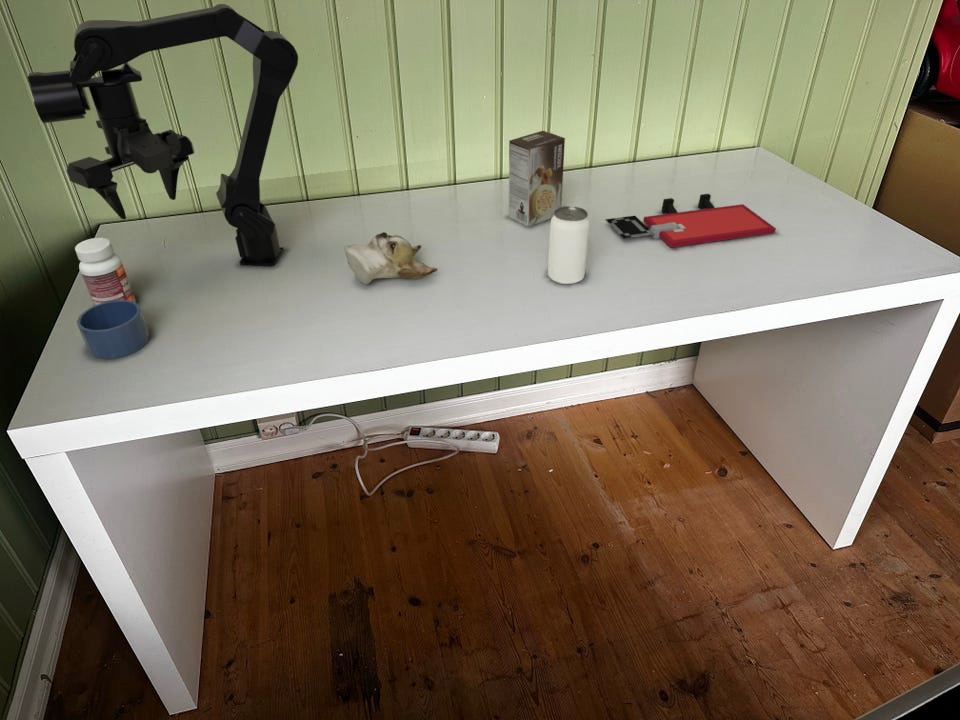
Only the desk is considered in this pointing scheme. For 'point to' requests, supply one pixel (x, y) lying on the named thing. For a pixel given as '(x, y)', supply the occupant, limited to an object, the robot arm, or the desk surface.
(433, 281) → the desk surface
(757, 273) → the desk surface
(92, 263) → the pill bottle
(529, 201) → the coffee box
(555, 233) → the can
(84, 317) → the cup
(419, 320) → the desk surface
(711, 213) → the red board with handle
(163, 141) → the robot arm
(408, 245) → the ceramic sculpture
